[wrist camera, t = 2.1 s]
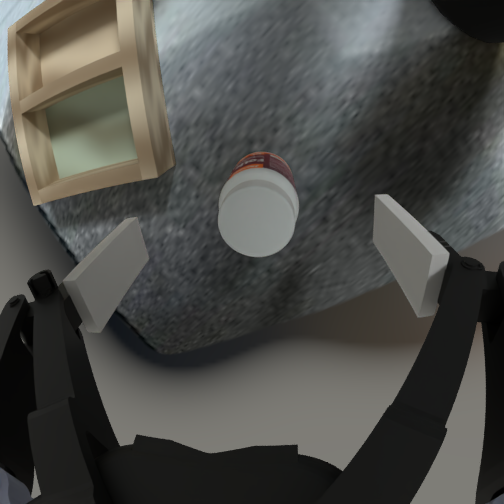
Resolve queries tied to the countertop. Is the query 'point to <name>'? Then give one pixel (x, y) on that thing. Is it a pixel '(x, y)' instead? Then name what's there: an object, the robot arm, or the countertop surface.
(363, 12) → the countertop surface
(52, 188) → the divided wooden tray
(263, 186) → the pill bottle
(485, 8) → the coffee jar
